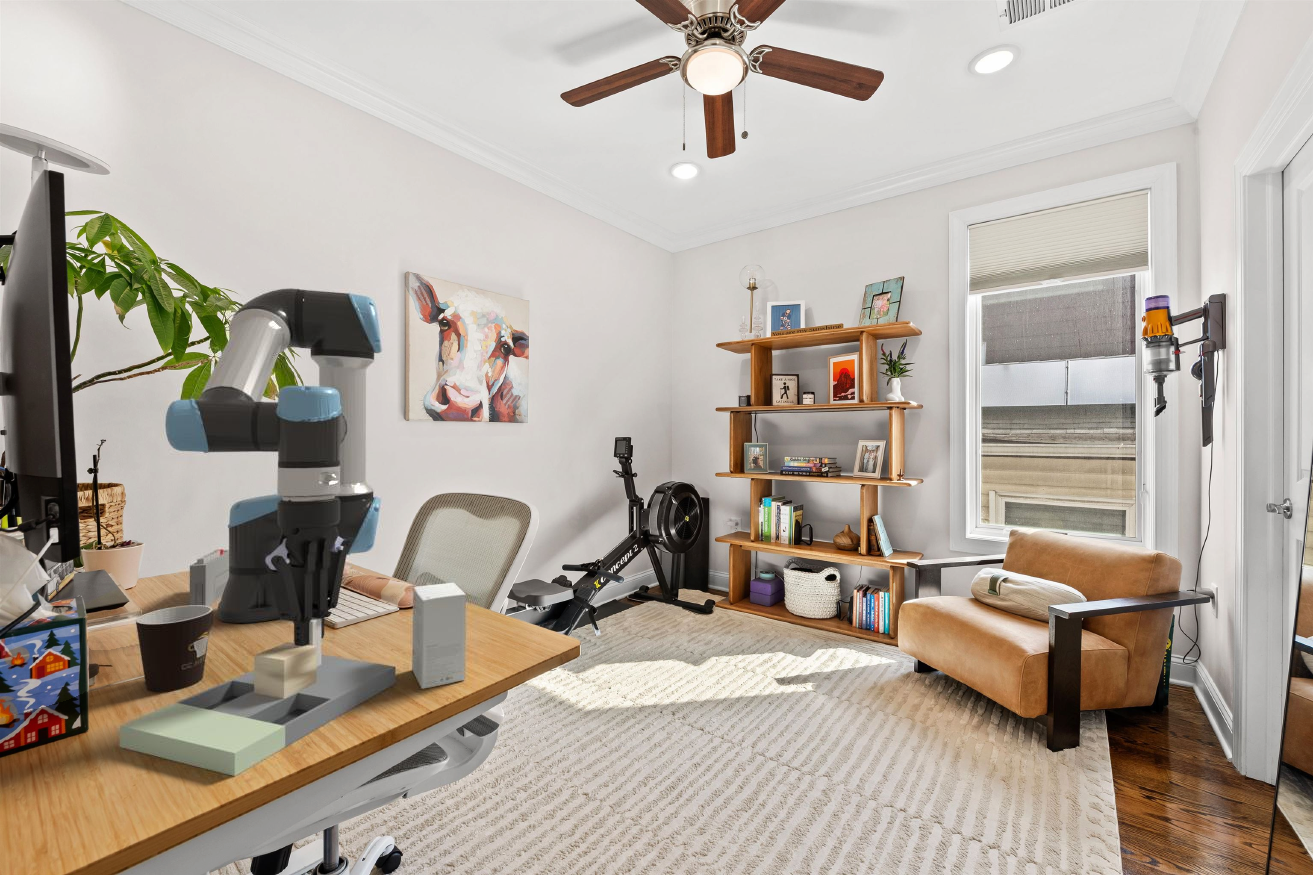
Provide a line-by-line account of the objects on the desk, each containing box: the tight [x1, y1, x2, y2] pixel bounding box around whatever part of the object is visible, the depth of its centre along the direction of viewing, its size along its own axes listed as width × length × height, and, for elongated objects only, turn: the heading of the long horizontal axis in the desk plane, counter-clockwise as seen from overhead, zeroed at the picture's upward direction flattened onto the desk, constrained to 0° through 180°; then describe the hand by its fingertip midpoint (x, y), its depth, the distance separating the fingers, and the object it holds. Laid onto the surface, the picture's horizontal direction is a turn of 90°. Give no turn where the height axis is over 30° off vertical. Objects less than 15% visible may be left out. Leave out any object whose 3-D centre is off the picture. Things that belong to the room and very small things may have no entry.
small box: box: [411, 582, 467, 690], centre depth 89 cm, size 8×6×13 cm
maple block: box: [253, 641, 317, 698], centre depth 78 cm, size 5×5×5 cm
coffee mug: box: [135, 604, 214, 694], centre depth 86 cm, size 12×9×10 cm
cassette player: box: [189, 548, 229, 607], centre depth 125 cm, size 16×3×10 cm, turn 17°
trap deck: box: [119, 654, 397, 777], centre depth 77 cm, size 24×18×2 cm
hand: (309, 665), depth 82 cm, fingers closed
